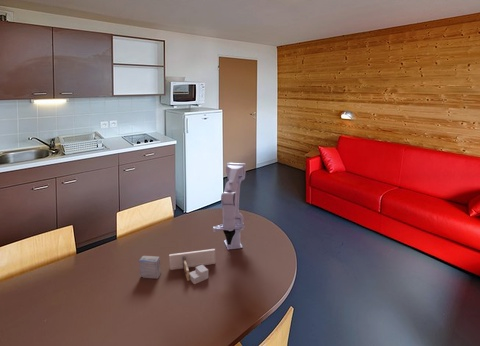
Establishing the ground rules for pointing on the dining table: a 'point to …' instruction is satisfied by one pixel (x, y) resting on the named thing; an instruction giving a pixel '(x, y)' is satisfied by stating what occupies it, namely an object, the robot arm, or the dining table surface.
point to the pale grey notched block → (199, 274)
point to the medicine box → (150, 267)
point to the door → (186, 270)
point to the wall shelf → (192, 259)
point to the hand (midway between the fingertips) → (228, 243)
